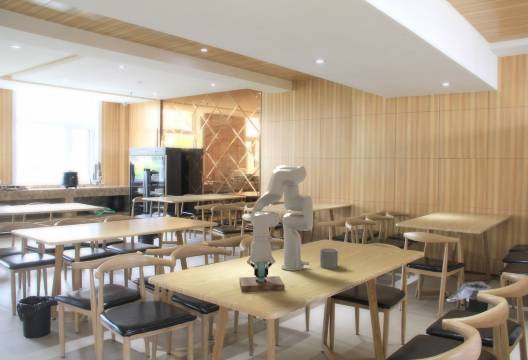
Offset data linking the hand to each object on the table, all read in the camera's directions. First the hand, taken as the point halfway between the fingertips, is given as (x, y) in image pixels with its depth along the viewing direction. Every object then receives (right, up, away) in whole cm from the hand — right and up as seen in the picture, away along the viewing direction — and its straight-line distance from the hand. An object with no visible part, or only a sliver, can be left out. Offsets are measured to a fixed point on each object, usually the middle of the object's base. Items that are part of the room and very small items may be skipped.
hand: (261, 276), depth 216 cm
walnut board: (0, -5, 0) cm, 5 cm away
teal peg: (0, -3, 0) cm, 3 cm away
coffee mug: (+40, -4, +44) cm, 60 cm away
